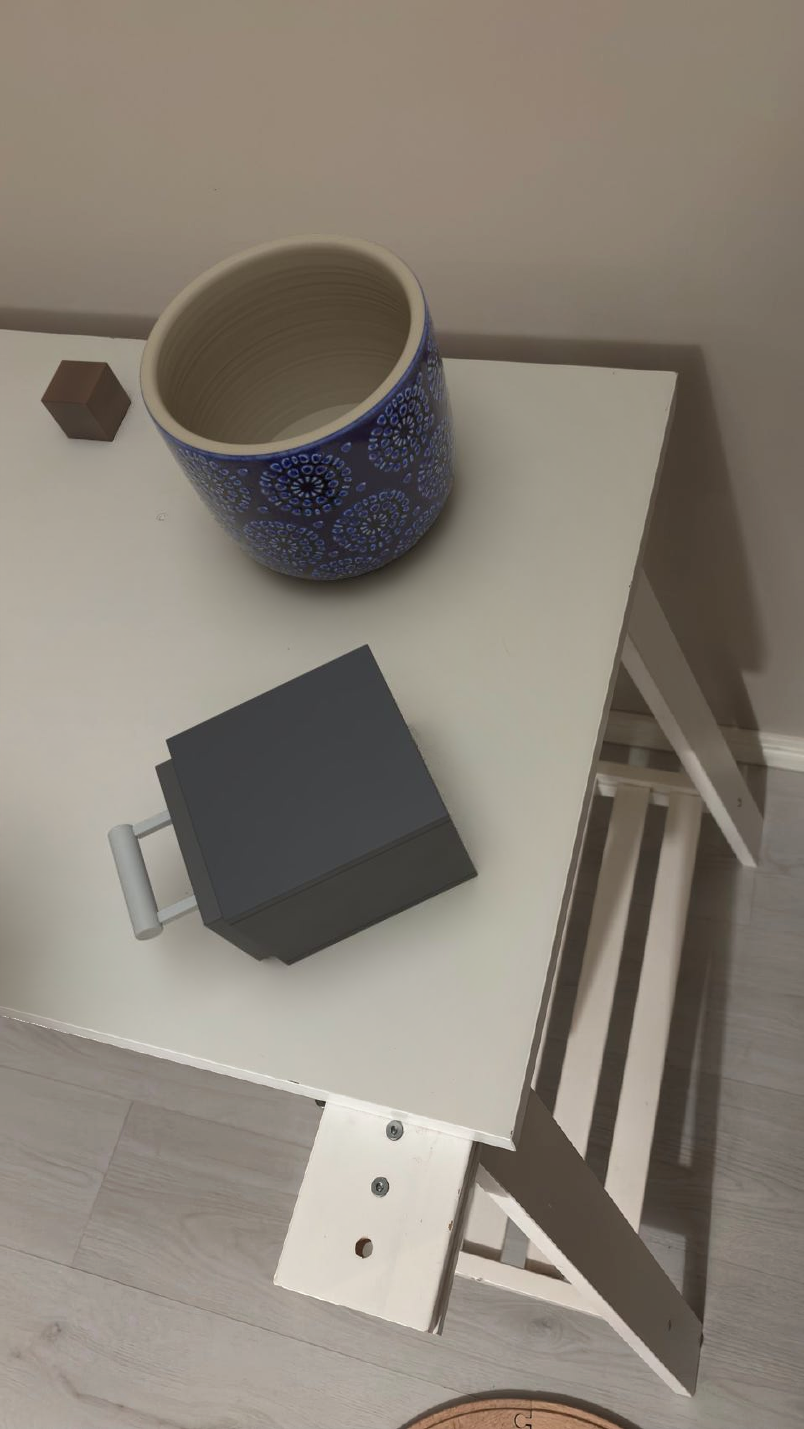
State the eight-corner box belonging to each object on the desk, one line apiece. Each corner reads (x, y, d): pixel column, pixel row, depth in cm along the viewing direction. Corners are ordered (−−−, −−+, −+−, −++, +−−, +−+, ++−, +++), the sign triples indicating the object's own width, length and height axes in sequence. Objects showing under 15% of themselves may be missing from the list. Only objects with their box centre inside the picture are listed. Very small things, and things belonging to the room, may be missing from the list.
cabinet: (287, 966, 53) (223, 922, 45) (231, 805, 58) (164, 739, 50) (478, 875, 53) (448, 814, 45) (405, 722, 58) (367, 643, 50)
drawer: (193, 993, 53) (128, 961, 46) (150, 846, 57) (85, 798, 51) (434, 878, 53) (404, 830, 46) (372, 740, 57) (336, 678, 51)
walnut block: (67, 438, 75) (39, 400, 72) (88, 398, 77) (61, 359, 73) (112, 441, 74) (86, 403, 71) (132, 401, 76) (107, 361, 72)
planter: (484, 407, 68) (447, 217, 55) (454, 613, 61) (403, 453, 48) (260, 415, 72) (176, 241, 59) (208, 609, 65) (100, 460, 52)
